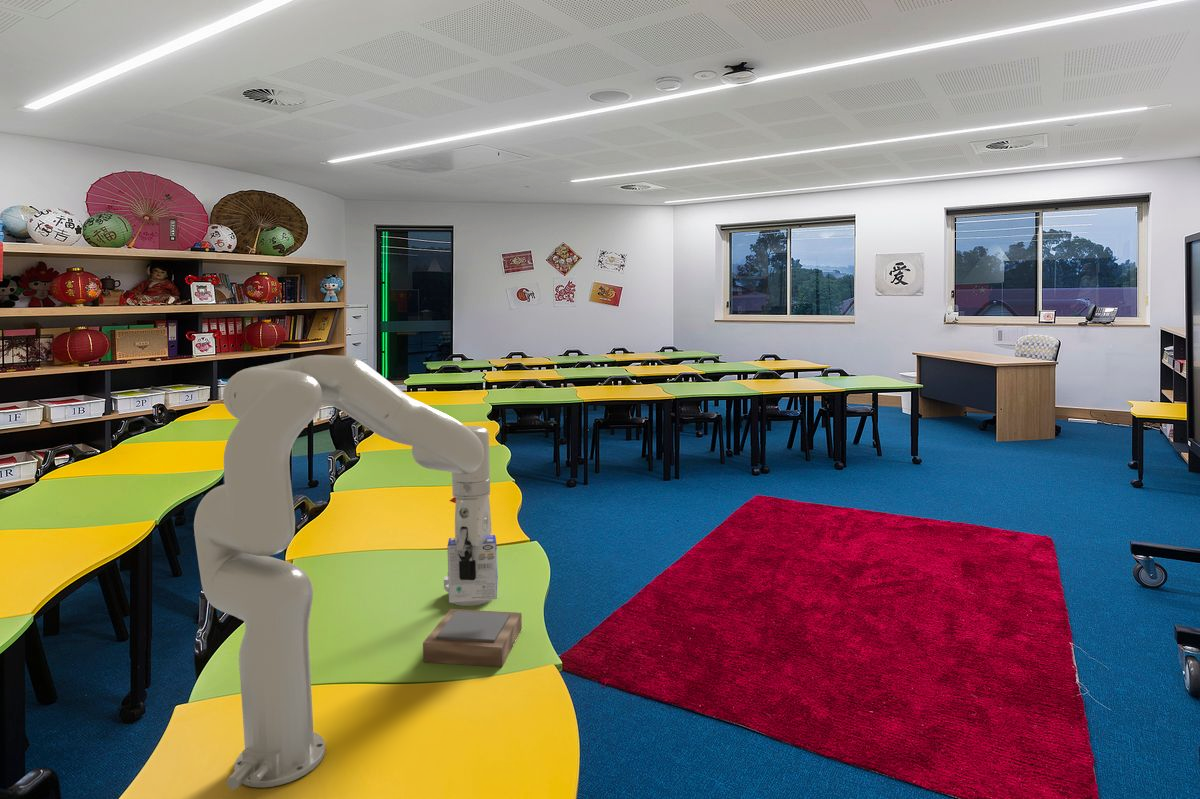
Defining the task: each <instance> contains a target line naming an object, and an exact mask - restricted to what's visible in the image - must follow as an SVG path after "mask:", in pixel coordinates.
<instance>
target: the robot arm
mask: <svg viewBox="0 0 1200 799" xmlns="http://www.w3.org/2000/svg"><path fill="white" fill-rule="evenodd" d="M222 401H223V405H224V406H225V408H226V410H227V412H228V413H229V414H230V415H231V416H232V417H234V418H235V419H237V420H239V421H238V422H237V423H236V425H235V426H234V428H233V429H232V431H231V433H230V434H229V437H228V438H227V441H226V443H225V448H224V453H223V477H224V484H221V485H218V486H216V487H214V488H212V489H211V490H209V491H208V492H207V493H206V494H205V495H204V496H203V497H202V499H201V501H200V502H199V503H198V506H197V508H196V510H195V514H194V521H193V530H194V534H193V535H194V541H195V547H196V554H197V555H196V556H197V561H198V569H199V570H198V571H199V575H200V583H201V587H202V591H203V594H204V596H205V598H206V600H207V602H208V603H209V604H210V605H211V606H212V607H213V608H215V609H216V610H219V611H220V612H222V613H225V614H226V615H230V616H233V617H235V618H237V619H239V620H241V621H243V622H244V624H245V625H244V626H245V630H244V634H243V638H242V640H241V643H240V646H239V653H238V666H239V667H238V668H239V677H240V678H239V679H240V692H241V694H240V695H241V710H242V711H241V712H242V723H243V738H244V739H243V740H244V749H243V750H242V751H241V753H240V754H239V755H238V756H237V757H236V760H235V762H234V767H233V770H234V772H233V773H232V774H231V775H230V776H229V777H228V778H227V779H226V786H227V787H228V788H229V789H230V790H233V791H235V790H238V788H239V787H240V786H241V785H244V786H247V787H250V788H251V787H252V788H262V789H263V788H271V787H277V786H282V785H285V784H289V783H291V782H294V781H295V780H299V778H302V777H303V776H306V775H307V774H308V773H310V772H311V771H313V770H315V768H316V767H317V766H319V764H320V762H322V761H323V759H324V756H325V754H326V742H325V739H324V738H323V736H322V735H320V734H318V733H317V732H314V718H313V700H312V699H313V698H312V697H313V695H312V679H311V678H312V675H311V659H310V638H309V637H310V636H309V633H310V631H309V630H310V618H311V611H312V605H313V600H314V599H313V598H314V589H313V588H314V587H313V583H312V581H311V578H310V577H309V576H308V574H307V573H306V572H305V571H304V570H303V569H302V568H301V567H299V566H297V565H295V564H293V563H291V562H289V561H286V560H282V559H279V558H276V557H273V555H277V554H280V553H281V552H284V550H286V549H287V548H288V547H289V546H290V544H291V543H292V541H293V539H294V536H295V534H296V515H295V508H294V507H295V506H294V498H293V490H292V489H293V488H292V482H291V481H292V480H291V470H290V469H291V467H290V461H291V460H290V456H291V452H292V448H293V447H294V446H293V445H294V444H295V442H296V440H297V438H298V437H299V435H300V434H301V432H302V431H303V430H304V429H305V428H306V427H307V426H308V425H309V424H310V423H311V421H313V420H314V418H315V417H317V416H316V415H318V413H319V411H320V409H321V408H322V407H321V406H324V407H325V406H326V407H333V408H336V409H338V410H340V411H341V412H343V413H344V414H345V415H347V416H349V417H350V418H352V419H354V420H355V421H356V422H358V423H359V424H361V425H363V426H364V427H366V428H367V429H369V430H370V431H372V432H373V433H374V434H375V435H377V436H379V437H381V438H383V439H387V440H389V441H392V442H395V443H397V444H402V445H406V446H411V447H412V448H411V455H412V457H413V460H414V461H415V462H416V463H417V465H419V466H421V467H423V468H425V469H429V470H433V471H434V470H435V471H443V472H448V473H451V486H452V487H451V489H452V498H454V497H455V498H456V503H455V506H454V508H455V510H454V512H455V513H454V538H455V541H456V545H457V552H458V555H459V574H460V579H461V580H475V579H476V563H475V560H474V551H475V546H476V547H480V546H481V545H482V544H483V543H484V541H485V540H486V539H487V538H488V537H489V536H490V535H492V515H491V514H492V513H491V503H490V495H491V478H490V477H491V476H490V475H491V474H490V471H491V470H490V467H491V466H490V435H489V434H490V433H489V430H488V429H487V428H485V427H483V426H478V425H465V424H463V423H462V422H460V421H459V420H457V419H455V418H454V417H452V416H450V415H448V414H447V413H444V412H442V411H440V410H438V409H436V408H434V407H432V406H430V405H428V404H426V403H424V402H422V401H419V400H418V399H415V398H413V397H412V396H409V395H407V393H405V392H404V391H402V390H401V389H400V388H398V387H397V386H396V385H394V384H393V383H392V382H391V381H389V380H388V379H387V378H385V377H384V376H383V375H381V374H380V373H379V372H378V371H376V370H375V369H374V368H372V366H369V364H367V363H365V362H364V361H363V360H360V359H359V358H357V357H353V356H348V355H337V354H336V355H331V354H330V355H329V354H314V355H306V356H302V357H297V358H293V359H288V360H283V361H279V362H273V363H267V364H262V365H257V366H250V367H248V368H244V369H242V370H239V371H237V372H236V373H235V374H233V375H232V376H231V377H230V378H229V379H228V380H227V382H226V383H225V385H224V388H223V393H222ZM466 542H471V544H472V545H466ZM466 548H470V554H469V552H468V551H466Z"/></svg>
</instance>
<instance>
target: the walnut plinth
mask: <svg viewBox="0 0 1200 799" xmlns="http://www.w3.org/2000/svg"><path fill="white" fill-rule="evenodd" d="M522 614H523V613H522V612H516V611H500V610H498V611H497V610H495V611H494V610H479V609H477V610H475V609H461V608H460V609H458V608H457V609H456V608H450V609H449V610H448V611H447V613H446V614H445V615H444V617H443V618H441V620H440V621H439V623H437V625H436V626H435V627H434V628H433V630H432V631H431V632H430V633H429V635H427V637H426V638H425V639H424V641H423V642H422V658H423V663H434V664H450V665H462V666H463V665H467V666H478V667H479V666H480V667H496V668H503V667H504V664H505V662H506V661H507V658H508V657H509V655H510V653H511V651H512V650H511V649H513V648H514V646H513V644H514V643H515V644H516V642H515V640H516V639H517V640H518V638H517V637H519V636H520V635H519V633H520V631H521V629H523V627H522V626H523V625H522V623H523V622H522V621H523V620H522V617H523V616H522ZM521 632H522V631H521ZM520 634H521V633H520ZM518 635H519V636H518ZM517 640H516V641H517ZM515 644H514V645H515ZM512 647H513V648H512Z"/></svg>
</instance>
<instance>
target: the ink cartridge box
mask: <svg viewBox="0 0 1200 799" xmlns="http://www.w3.org/2000/svg"><path fill="white" fill-rule="evenodd" d="M466 545H472V544H471V542H466ZM466 551H468V552H469V554H470V548H466ZM474 560H475V563H476V579H475V580H461V579H460V574H459V555H458V552H457V545H456V541H455V537H449V538H448V541H447V576H448V579H449V594H448V603H450V604H453V602H465V601H480V600H490V601H491V600H497V599H498V585H497V573H498V548H497V537H496V534H491V535H490V536H489V537H488V538H487V539H486V540H485V541H484V543H483V544H482V545H481V546H480V547H476V546H475V551H474Z"/></svg>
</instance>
